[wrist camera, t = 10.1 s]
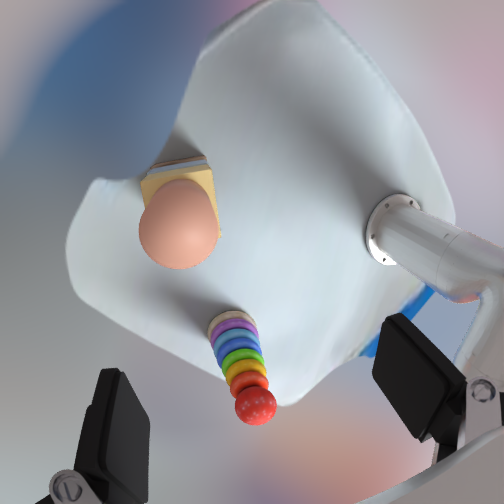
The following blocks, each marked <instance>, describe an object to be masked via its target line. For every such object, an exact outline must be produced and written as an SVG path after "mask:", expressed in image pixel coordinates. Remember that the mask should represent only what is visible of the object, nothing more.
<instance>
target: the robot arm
mask: <svg viewBox="0 0 504 504" xmlns="http://www.w3.org/2000/svg"><path fill="white" fill-rule="evenodd" d="M366 244H367V248H368V250H369V252H370V254H371V256H372V257H373V258H374V259H375V260H377V261H378V262H380V263H381V264H385V265H394V264H398V265H400V266H401V267H403V268H404V269H405V270H407V271H408V272H410V273H411V274H413V275H414V276H415V277H417V278H418V279H420V280H421V281H422V282H424V283H425V284H426V285H428V286H429V287H431V288H432V289H433V290H435V291H436V292H437V293H439V294H440V295H442V296H443V297H444V298H446V299H447V300H449V301H451V302H454V303H468V302H472V301H476V300H479V299H480V303H479V306H478V309H477V311H476V314H475V317H474V319H473V321H472V323H471V325H470V327H469V329H468V331H467V332H466V335H465V336H464V338H463V340H462V342H461V344H460V346H459V348H458V350H457V352H456V354H455V356H454V359H453V363H451V361H450V360H449V359H448V358H447V357H446V356H445V355H444V354H443V353H442V352H441V351H440V350H439V349H438V348H437V347H436V346H435V345H434V344H433V343H432V342H431V341H430V340H429V339H428V338H427V337H426V336H425V335H424V334H423V333H422V332H421V331H420V330H419V329H418V328H417V327H416V326H415V325H414V324H413V323H412V322H411V321H410V320H409V319H408V318H407V317H405V316H404V315H403V314H402V313H397V314H394V315H391V316H388V317H386V319H385V321H384V322H383V323H382V327H381V332H380V337H379V342H378V347H377V352H376V356H375V361H374V365H373V369H372V375H373V378H374V380H375V382H376V383H377V384H378V386H379V387H380V389H381V390H382V392H383V393H384V394H385V396H386V397H387V399H388V400H389V402H390V403H391V405H392V406H393V408H394V409H395V411H396V412H397V414H398V415H399V417H400V418H401V420H402V421H403V423H404V424H405V425H406V427H407V428H408V430H409V431H410V433H411V434H412V436H413V437H414V438H416V439H417V438H418V439H419V441H420V442H421V443H423V442H424V441H426V440H428V439H430V438H431V437H433V438H434V440H435V447H434V453H433V459H432V464H431V467H430V468H428V469H426V470H425V471H423V472H421V473H419V474H417V475H415V476H414V477H412V478H410V479H408V480H406V481H404V482H402V483H400V484H398V485H396V486H394V487H392V488H390V489H388V490H386V491H384V492H382V493H379V494H377V495H375V496H372V497H370V498H367V499H365V500H363V501H360V502H358V503H355V504H504V248H503V247H501V246H498V245H496V244H493V243H491V242H489V241H486V240H485V239H482V238H480V237H478V236H476V235H474V234H472V233H470V232H467V231H465V230H463V229H461V228H459V227H457V226H455V225H452V224H450V223H448V222H446V221H443V220H441V219H439V218H437V217H434V216H432V215H430V214H427V213H425V212H423V211H421V209H420V207H419V205H418V203H417V202H416V201H415V200H414V199H413V198H411V197H410V196H407V195H404V194H393V195H391V196H388V197H387V198H385V199H383V200H382V201H381V202H380V203H379V204H378V205H377V207H376V208H375V209H374V211H373V213H372V214H371V216H370V219H369V221H368V225H367V229H366ZM149 437H150V421H149V417H148V415H147V414H146V412H145V410H144V409H143V407H142V405H141V403H140V401H139V400H138V398H137V396H136V394H135V392H134V390H133V388H132V386H131V385H130V383H129V381H128V379H127V377H126V375H125V373H124V372H120V371H119V369H118V368H108V369H102V370H101V372H100V375H99V378H98V382H97V385H96V389H95V393H94V397H93V400H92V404H91V405H89V407H88V408H87V410H86V414H85V418H84V422H83V426H82V430H81V435H80V440H79V444H78V449H77V453H76V459H75V464H74V469H73V470H69V469H68V470H61V471H59V472H57V473H56V474H55V475H54V476H53V477H52V479H51V480H50V484H49V492H50V494H49V495H48V496H46V497H45V498H43V499H42V500H40V501H39V502H37V503H35V504H144V503H147V502H148V465H149V461H148V460H149Z"/></svg>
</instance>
